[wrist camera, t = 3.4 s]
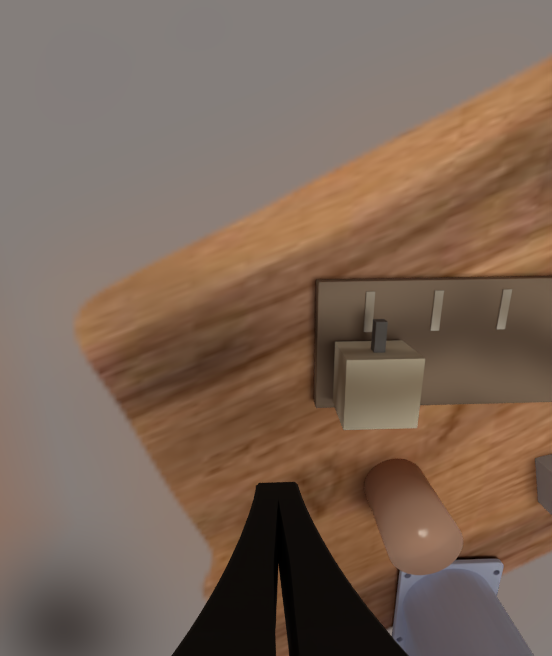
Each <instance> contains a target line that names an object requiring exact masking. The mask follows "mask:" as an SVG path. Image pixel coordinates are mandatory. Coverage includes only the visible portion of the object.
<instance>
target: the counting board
mask: <svg viewBox="0 0 552 656" xmlns="http://www.w3.org/2000/svg"><path fill="white" fill-rule="evenodd" d="M373 319H385V320H386V321H387V322H388V326H387V338H386V341H393V340H402V341H404V342H405V343H406V344H407V345H409V346H410V347H411V348H413V349H414V350H415V351H416V352H418V353H419V354H420V355H421V356H423V357H424V358H425V366H424V374H423V383H422V391H421V400H420V405H447V404H487V403H527V402H552V276H511V277H449V278H388V279H327V280H316V316H315V365H314V403H315V406H316V408H327V407H334V405H333V383H334V357H335V342H344V341H371V338H372V324H373Z"/></svg>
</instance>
